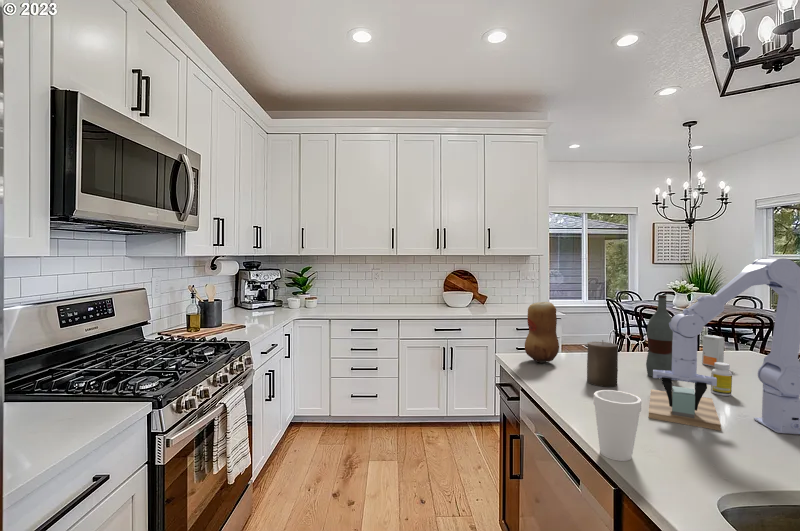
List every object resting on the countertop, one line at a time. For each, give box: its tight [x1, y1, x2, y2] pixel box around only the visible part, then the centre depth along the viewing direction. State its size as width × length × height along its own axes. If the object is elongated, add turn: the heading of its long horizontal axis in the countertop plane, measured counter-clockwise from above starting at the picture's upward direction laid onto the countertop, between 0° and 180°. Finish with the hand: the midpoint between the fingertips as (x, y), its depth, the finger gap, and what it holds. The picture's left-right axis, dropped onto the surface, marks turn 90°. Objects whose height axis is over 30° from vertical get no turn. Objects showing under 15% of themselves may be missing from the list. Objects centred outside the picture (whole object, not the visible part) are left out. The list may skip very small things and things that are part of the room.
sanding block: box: [672, 385, 695, 419], centre depth 119 cm, size 7×5×6 cm
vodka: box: [645, 294, 673, 380], centre depth 160 cm, size 9×9×30 cm
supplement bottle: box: [710, 362, 733, 397], centre depth 140 cm, size 5×5×10 cm
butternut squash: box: [524, 301, 560, 364], centre depth 179 cm, size 14×13×25 cm
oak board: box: [648, 388, 722, 432], centre depth 125 cm, size 24×16×2 cm, turn 149°
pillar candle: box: [586, 339, 619, 388], centre depth 151 cm, size 10×10×15 cm
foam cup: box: [593, 389, 642, 462], centre depth 97 cm, size 10×9×13 cm
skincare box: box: [701, 334, 725, 368], centre depth 176 cm, size 6×4×12 cm
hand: (682, 407), depth 119 cm, fingers closed on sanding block, 5 cm apart
